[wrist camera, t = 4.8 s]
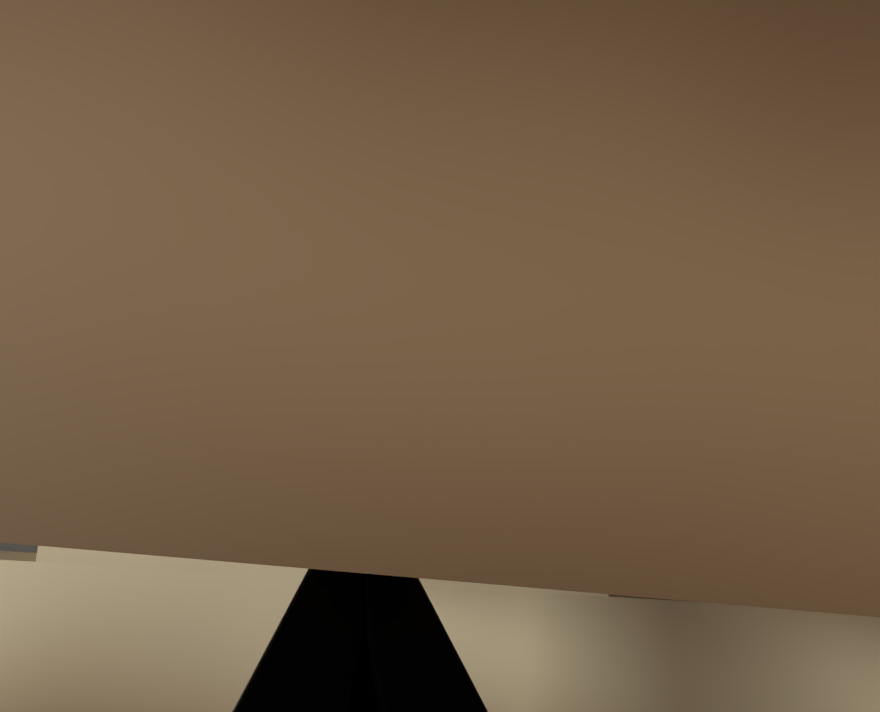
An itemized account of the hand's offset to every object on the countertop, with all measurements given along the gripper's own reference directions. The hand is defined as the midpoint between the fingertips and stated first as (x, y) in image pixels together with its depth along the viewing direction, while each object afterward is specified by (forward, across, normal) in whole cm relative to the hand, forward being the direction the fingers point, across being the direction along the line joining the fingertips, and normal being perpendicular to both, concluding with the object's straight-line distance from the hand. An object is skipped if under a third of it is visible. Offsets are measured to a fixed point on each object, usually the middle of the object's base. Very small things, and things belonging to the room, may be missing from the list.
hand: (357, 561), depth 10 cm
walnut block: (+6, 0, +1) cm, 6 cm away
